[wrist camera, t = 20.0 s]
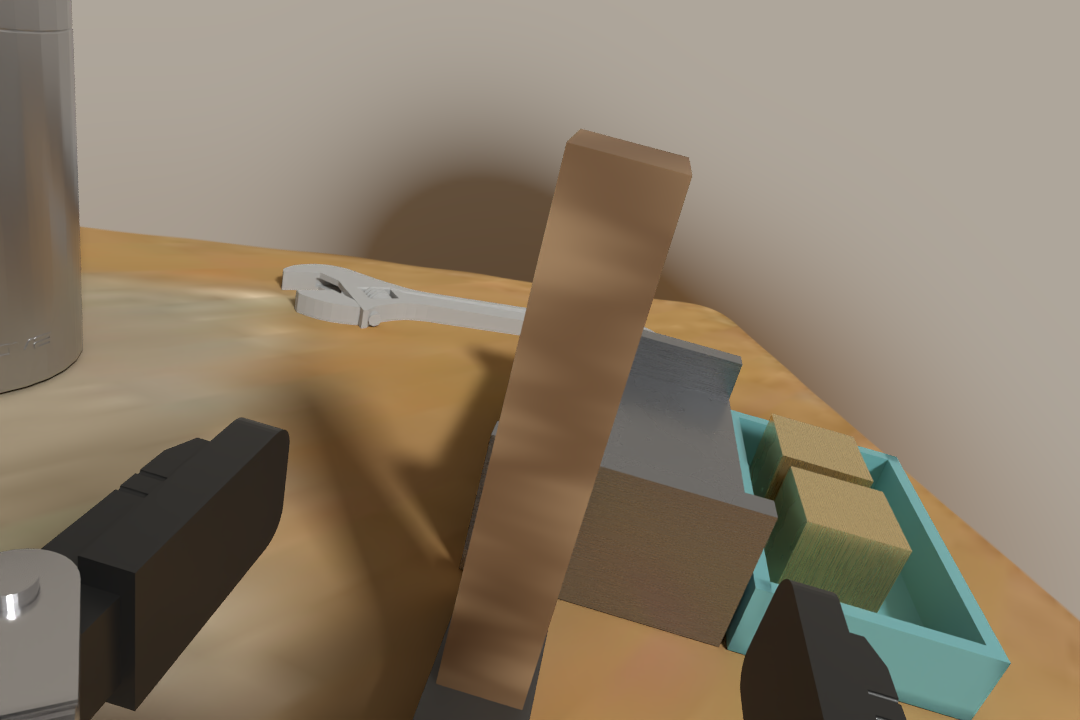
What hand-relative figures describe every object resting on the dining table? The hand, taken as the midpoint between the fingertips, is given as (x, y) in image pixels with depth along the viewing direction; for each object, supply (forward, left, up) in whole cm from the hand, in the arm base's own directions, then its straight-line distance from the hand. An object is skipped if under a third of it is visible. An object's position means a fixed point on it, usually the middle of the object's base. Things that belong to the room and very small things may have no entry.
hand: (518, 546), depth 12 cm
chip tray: (+1, +23, -11) cm, 26 cm away
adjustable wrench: (-23, +27, -12) cm, 37 cm away
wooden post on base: (-3, +6, -12) cm, 13 cm away
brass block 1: (-2, +24, -9) cm, 26 cm away
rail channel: (-7, +18, -11) cm, 23 cm away
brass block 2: (0, +20, -9) cm, 22 cm away
